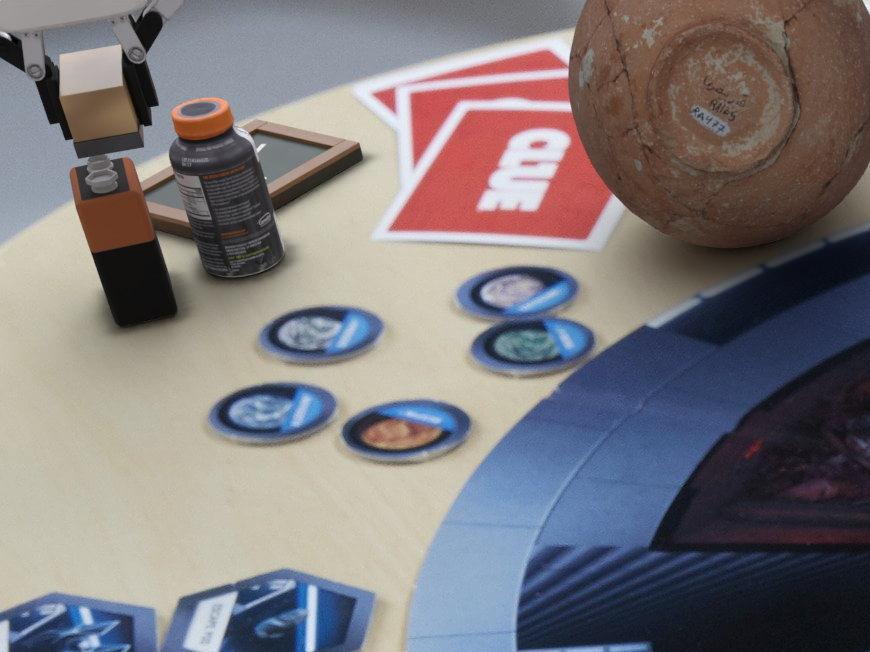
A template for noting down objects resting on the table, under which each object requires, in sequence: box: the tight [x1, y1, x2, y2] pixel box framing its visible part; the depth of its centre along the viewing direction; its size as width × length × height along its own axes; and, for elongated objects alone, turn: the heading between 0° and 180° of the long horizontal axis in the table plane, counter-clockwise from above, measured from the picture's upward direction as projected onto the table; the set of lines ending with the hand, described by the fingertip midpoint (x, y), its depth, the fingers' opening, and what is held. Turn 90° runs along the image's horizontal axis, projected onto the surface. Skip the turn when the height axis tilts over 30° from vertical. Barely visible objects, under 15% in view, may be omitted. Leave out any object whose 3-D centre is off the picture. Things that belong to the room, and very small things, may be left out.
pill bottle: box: [168, 97, 286, 278], centre depth 169 cm, size 6×6×11 cm
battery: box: [69, 154, 178, 328], centre depth 165 cm, size 4×7×10 cm, turn 20°
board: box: [140, 118, 364, 240], centre depth 182 cm, size 16×11×1 cm
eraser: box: [58, 44, 145, 160], centre depth 155 cm, size 4×8×4 cm, turn 16°
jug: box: [567, 0, 870, 249], centre depth 168 cm, size 22×22×30 cm
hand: (107, 122), depth 156 cm, fingers closed on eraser, 4 cm apart
